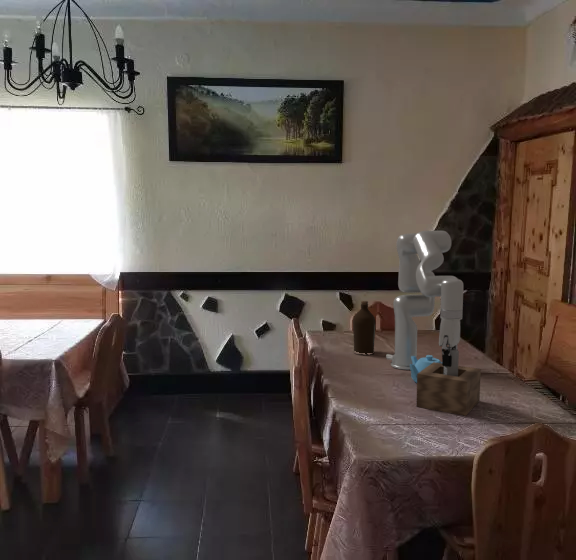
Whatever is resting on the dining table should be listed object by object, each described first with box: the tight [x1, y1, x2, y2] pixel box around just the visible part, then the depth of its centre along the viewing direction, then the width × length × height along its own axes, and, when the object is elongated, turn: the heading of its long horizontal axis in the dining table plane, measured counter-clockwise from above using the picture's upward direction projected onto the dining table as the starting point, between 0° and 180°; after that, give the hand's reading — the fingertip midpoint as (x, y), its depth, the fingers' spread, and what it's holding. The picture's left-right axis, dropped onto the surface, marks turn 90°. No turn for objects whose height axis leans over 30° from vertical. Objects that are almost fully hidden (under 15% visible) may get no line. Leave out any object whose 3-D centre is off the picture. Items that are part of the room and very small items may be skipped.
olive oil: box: [352, 300, 377, 354], centre depth 284 cm, size 11×11×25 cm
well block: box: [416, 362, 482, 417], centre depth 214 cm, size 18×18×12 cm
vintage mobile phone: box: [441, 347, 460, 377], centre depth 213 cm, size 4×5×25 cm
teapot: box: [410, 354, 442, 384], centre depth 240 cm, size 15×15×11 cm
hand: (449, 363), depth 213 cm, fingers closed on vintage mobile phone, 5 cm apart
